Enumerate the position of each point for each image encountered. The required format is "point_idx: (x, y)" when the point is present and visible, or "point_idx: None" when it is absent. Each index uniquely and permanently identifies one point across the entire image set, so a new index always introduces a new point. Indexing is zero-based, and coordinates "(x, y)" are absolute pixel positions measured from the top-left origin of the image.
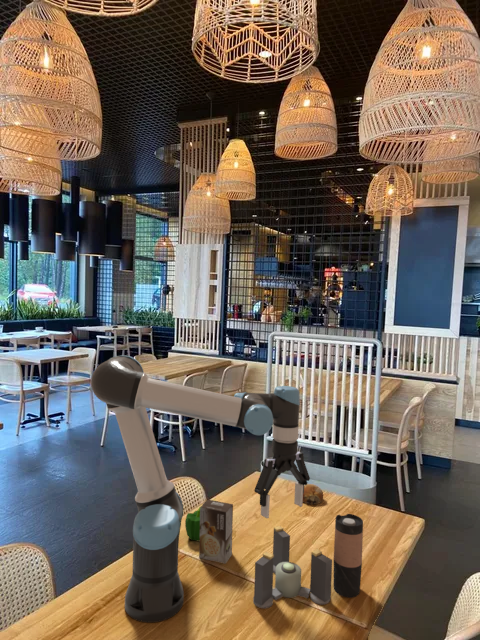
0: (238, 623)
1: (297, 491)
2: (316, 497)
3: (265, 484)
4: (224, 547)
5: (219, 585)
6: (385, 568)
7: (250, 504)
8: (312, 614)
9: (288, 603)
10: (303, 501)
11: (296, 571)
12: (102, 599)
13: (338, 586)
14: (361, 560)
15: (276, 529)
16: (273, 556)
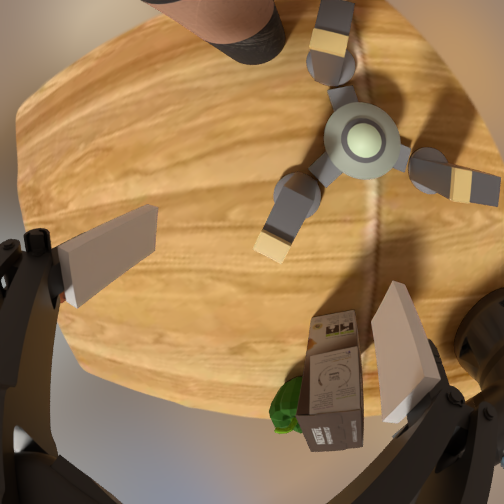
0: None
1: (108, 263)
2: None
3: (477, 466)
4: (357, 336)
5: (423, 278)
6: (131, 41)
7: (141, 357)
8: (387, 61)
9: (394, 119)
10: None
11: (357, 115)
12: None
13: (282, 36)
14: None
15: (289, 248)
16: (453, 167)
